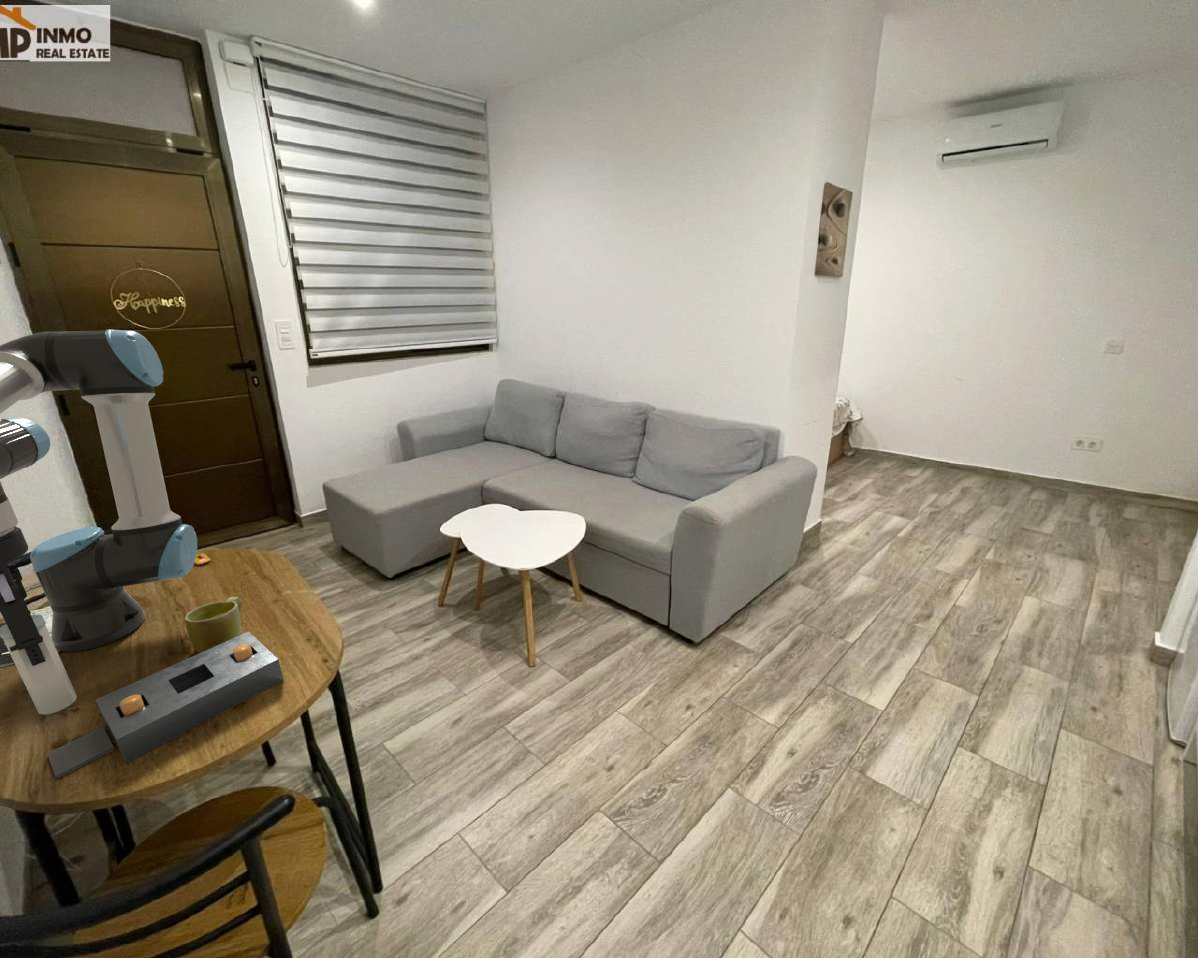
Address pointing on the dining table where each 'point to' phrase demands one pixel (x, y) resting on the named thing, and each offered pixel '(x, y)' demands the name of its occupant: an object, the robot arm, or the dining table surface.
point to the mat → (80, 752)
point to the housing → (188, 695)
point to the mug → (214, 623)
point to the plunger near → (131, 704)
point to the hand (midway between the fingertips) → (43, 670)
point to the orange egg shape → (242, 652)
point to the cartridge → (50, 691)
